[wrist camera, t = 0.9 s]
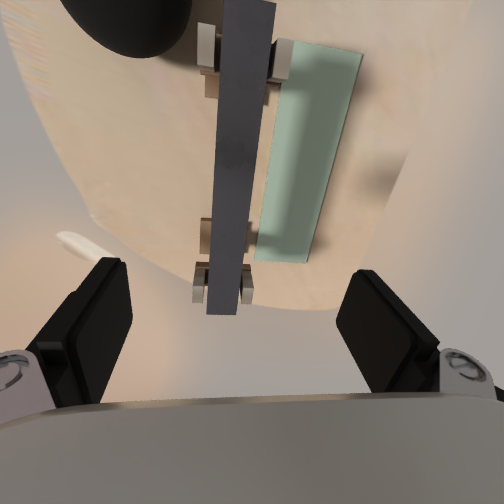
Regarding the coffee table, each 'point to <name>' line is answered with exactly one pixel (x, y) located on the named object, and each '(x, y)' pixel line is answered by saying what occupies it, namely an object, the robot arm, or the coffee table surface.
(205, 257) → the coffee table surface
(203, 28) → the rack
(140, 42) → the decorative ball
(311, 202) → the mat
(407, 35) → the coffee table surface
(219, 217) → the rail
